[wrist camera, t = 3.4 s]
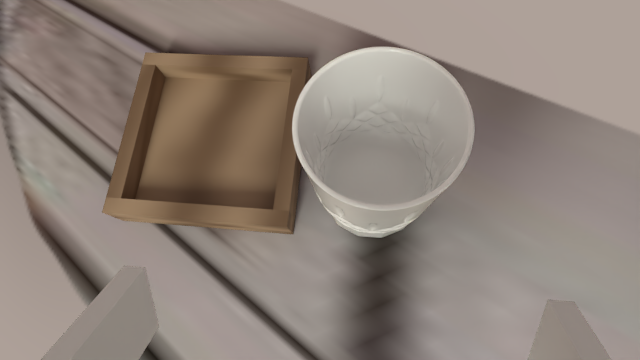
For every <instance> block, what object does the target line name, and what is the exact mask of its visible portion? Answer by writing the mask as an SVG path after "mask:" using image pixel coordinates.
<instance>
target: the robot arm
mask: <svg viewBox="0 0 640 360" xmlns="http://www.w3.org/2000/svg"><path fill="white" fill-rule="evenodd" d="M158 328H159V323H158V318H157V314H156V310H155V306H154V302H153V298H152V294H151V290H150V285H149V281H148V277H147V273H146V269H145V267H134V266H123V268H122V269H121V270H120V271H119V272H118V273H117V274H116V275H115V277H114V278H113V279H112V280H111V281H110V282H109V283H108V284H107V286H106V287H105V288H104V289H103V290H102V291H101V292H100V293H99V295H98V296H97V297H96V298H95V299H94V300H93V301H92V302H91V304H90V305H89V306H88V307H87V308H86V309H85V310H84V311H83V313H82V314H81V315H80V316H79V317H78V318H77V319H76V320H75V322H74V323H73V324H72V325H71V326H70V327H69V328H68V329H67V331H66V332H65V333H64V334H63V335H62V336H61V337H60V338H59V340H58V341H57V342H56V343H55V344H54V345H53V346H52V348H51V349H50V350H49V351H48V352H47V353H46V354H45V355H44V356H43V358H42V359H41V360H139V358H140V357H141V355H142V353H143V352H144V350H145V349H146V347H147V345H148V344H149V342H150V341H151V339H152V337H153V336H154V334H155V333H156V331H157V329H158ZM528 360H611V358H610V357H609V355H608V354H607V352H606V350H605V349H604V347H603V346H602V344H601V343H600V341H599V340H598V338H597V336H596V335H595V333H594V332H593V330H592V329H591V327H590V326H589V324H588V323H587V321H586V319H585V318H584V316H583V315H582V313H581V312H580V310H579V309H578V307H577V305H576V304H575V302H570V301H557V300H548V301H547V304H546V307H545V310H544V313H543V316H542V319H541V322H540V325H539V328H538V331H537V334H536V337H535V340H534V343H533V345H532V348H531V351H530V354H529V357H528Z"/></svg>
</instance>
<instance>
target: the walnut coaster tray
mask: <svg viewBox="0 0 640 360" xmlns="http://www.w3.org/2000/svg"><path fill="white" fill-rule="evenodd" d="M310 79H311V72H310V66H309V61H308V58H304V57H271V56H239V55H206V54H173V53H145V57H144V60H143V64H142V68H141V71H140V75H139V79H138V82H137V86H136V90H135V93H134V97H133V101H132V104H131V108H130V112H129V115H128V119H127V123H126V126H125V130H124V134H123V138H122V141H121V145H120V149H119V152H118V156H117V160H116V163H115V167H114V171H113V174H112V178H111V182H110V185H109V189H108V193H107V196H106V200H105V204H104V207H103V211H102V213H105V214H108V215H110V216H113V217H115V218H118V219H121V220H123V221H135V222H148V223H160V224H173V225H185V226H197V227H210V228H222V229H235V230H247V231H259V232H272V233H284V234H293V231H294V222H295V213H296V205H297V196H298V188H299V179H300V171H301V163H300V161H299V158H298V156H297V153H296V150H295V147H294V143H293V136H292V120H293V113H294V109H295V106H296V103H297V100H298V98H299V95H300V93H301V92H302V90H303V88H304V87H305V85H306V84H307V82H308V81H309V80H310Z"/></svg>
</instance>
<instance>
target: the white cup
mask: <svg viewBox="0 0 640 360" xmlns="http://www.w3.org/2000/svg"><path fill="white" fill-rule="evenodd" d="M474 134H475V125H474V116H473V112H472V108H471V105H470V102H469V100H468V97H467V95H466V93H465V92H464V90H463V88H462V87H461V85H460V84H459V83H458V81H457V80H456V79H455V78H454V77H453V76H452V74H451V73H450V72H448V71H447V70H446V69H445V68H444V67H443V66H441V65H440V64H438V63H437V62H435V61H434V60H432V59H430V58H428V57H426V56H424V55H422V54H420V53H417V52H414V51H411V50H407V49H402V48H397V47H369V48H363V49H358V50H355V51H351V52H348V53H346V54H343V55H341V56H339V57H337V58H335V59H333V60H332V61H330V62H329V63H327V64H326V65H324V66H323V67H322V68H321V69H319V70H318V71H317V72H316V73H315V74H314V75H313V76H312V77H311V79H310V80H309V81H308V82H307V84H306V85H305V87H304V88H303V90H302V92H301V93H300V95H299V98H298V100H297V103H296V106H295V109H294V113H293V120H292V136H293V143H294V147H295V150H296V153H297V156H298V158H299V161H300V163H301V165H302V166H303V168H304V170H305V172H306V174H307V176H308V178H309V180H310V182H311V184H312V186H313V188H314V190H315V192H316V194H317V196H318V198H319V199H320V201H321V203H322V204H323V206H324V207H325V209H326V210H327V211H328V212H329V213H330V214H331V216H332V217H333V219H334V220H335V222H336V223H337V224H338V225H339V226H341V227H343V228H344V229H346V230H348V231H350V232H351V233H353V234H355V235H357V236H364V237H377V238H382V237H385V236H387V235H390V234H392V233H395V232H397V231H400V230H403V229H404V228H405V227H406V226H407V225H408V224H409V223H411V222H412V221H414V220H415V219H416V218H417V217H418V216H419V215H421V214H422V213H423V212H424V211H425V210H426V209H427V208H428V207H429V206H430V205H431V204H432V203H433V202H434V201H435V200H436V199H437V198H438V197H439V196H440V195H441V194H442V193H443V192H444V191H445V190H446V189H447V188H448V187H449V186H450V185H451V184H452V183H453V182H454V181H455V179H456V178H457V177H458V176H459V174H460V173H461V172H462V170H463V168H464V167H465V165H466V163H467V161H468V159H469V156H470V154H471V150H472V147H473V142H474Z"/></svg>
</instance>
